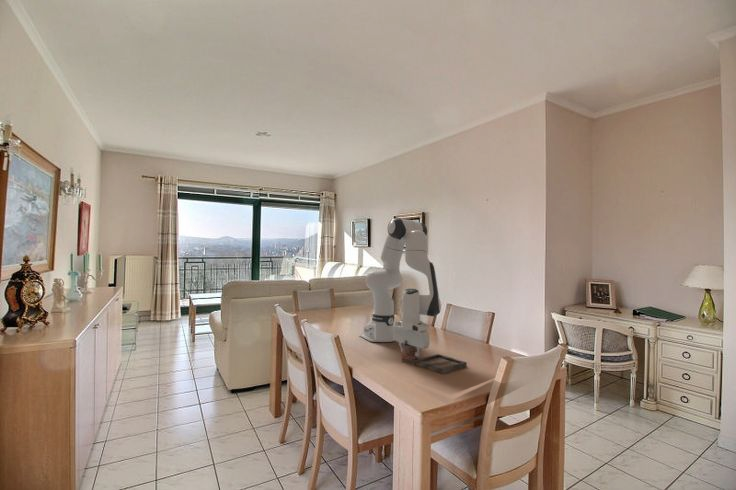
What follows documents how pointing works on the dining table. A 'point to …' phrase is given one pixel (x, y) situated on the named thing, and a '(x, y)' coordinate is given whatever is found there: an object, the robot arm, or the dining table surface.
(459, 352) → the dining table surface
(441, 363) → the dark brown tray
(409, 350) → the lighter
